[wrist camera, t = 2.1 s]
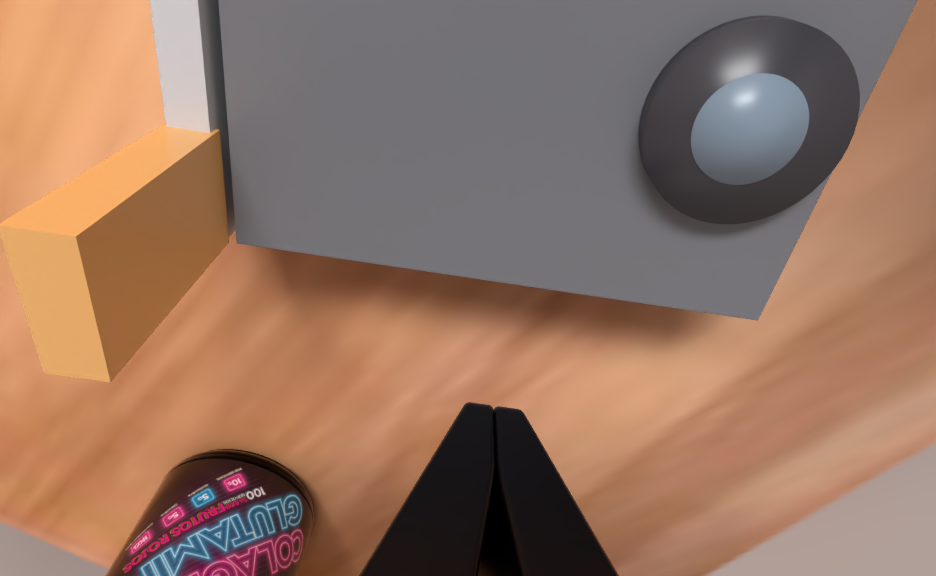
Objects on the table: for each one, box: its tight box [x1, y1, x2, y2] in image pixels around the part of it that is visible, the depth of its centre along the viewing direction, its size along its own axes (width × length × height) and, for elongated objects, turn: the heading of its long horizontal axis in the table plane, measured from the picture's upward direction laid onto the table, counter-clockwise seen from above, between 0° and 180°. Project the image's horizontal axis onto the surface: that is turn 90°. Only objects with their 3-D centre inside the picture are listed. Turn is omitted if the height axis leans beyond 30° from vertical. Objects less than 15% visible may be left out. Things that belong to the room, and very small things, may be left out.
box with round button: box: [218, 0, 917, 320], centre depth 14 cm, size 14×10×4 cm
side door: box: [0, 0, 236, 382], centre depth 12 cm, size 1×11×9 cm, turn 172°
